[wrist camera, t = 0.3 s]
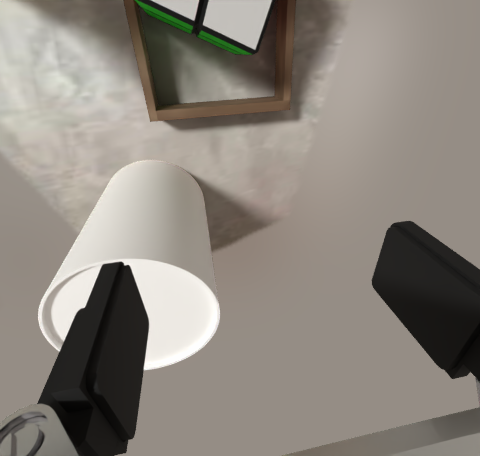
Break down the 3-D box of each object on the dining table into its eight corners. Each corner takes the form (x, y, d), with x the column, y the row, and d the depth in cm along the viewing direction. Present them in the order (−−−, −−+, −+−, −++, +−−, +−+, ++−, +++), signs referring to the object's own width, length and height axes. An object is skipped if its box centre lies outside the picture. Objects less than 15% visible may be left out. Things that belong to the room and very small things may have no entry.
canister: (115, 246, 40) (68, 380, 24) (94, 159, 33) (5, 265, 17) (205, 241, 43) (218, 360, 26) (204, 159, 35) (221, 252, 19)
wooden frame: (98, -143, 21) (84, -175, 18) (289, -138, 23) (304, -165, 20) (153, 115, 31) (150, 121, 29) (280, 104, 33) (289, 109, 30)
